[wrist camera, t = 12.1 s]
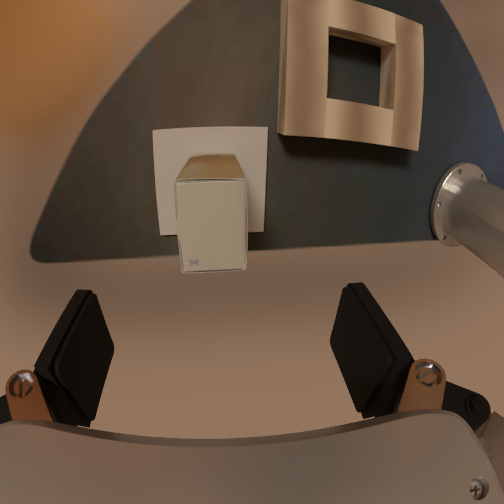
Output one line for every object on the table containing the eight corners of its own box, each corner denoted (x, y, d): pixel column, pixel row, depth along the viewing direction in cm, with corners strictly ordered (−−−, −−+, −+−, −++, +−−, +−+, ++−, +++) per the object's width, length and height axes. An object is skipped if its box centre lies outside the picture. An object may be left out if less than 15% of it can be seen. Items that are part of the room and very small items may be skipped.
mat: (267, 127, 26) (267, 127, 26) (263, 230, 31) (263, 231, 31) (153, 130, 25) (152, 130, 25) (161, 233, 30) (160, 235, 30)
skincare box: (235, 211, 30) (248, 275, 19) (192, 212, 29) (181, 278, 18) (235, 148, 27) (249, 177, 16) (189, 150, 26) (171, 180, 15)
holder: (407, 28, 21) (422, 25, 19) (402, 146, 28) (417, 150, 26) (281, -3, 20) (287, -14, 17) (277, 132, 27) (284, 135, 24)
